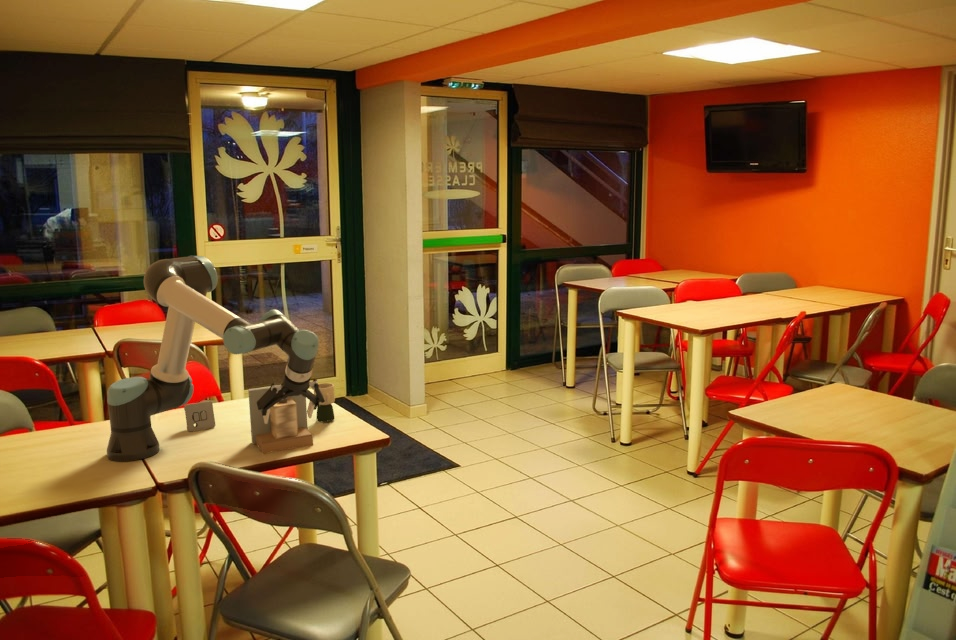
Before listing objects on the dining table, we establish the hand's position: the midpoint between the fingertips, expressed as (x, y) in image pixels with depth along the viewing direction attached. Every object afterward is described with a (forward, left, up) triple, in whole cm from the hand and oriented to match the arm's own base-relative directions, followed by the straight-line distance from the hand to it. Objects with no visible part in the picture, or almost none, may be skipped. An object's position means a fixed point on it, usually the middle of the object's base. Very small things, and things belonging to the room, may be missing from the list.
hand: (287, 417), depth 241 cm
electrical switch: (-21, +41, -12) cm, 48 cm away
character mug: (+20, +28, -12) cm, 36 cm away
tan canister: (+1, +11, -9) cm, 14 cm away
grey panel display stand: (+1, +10, -12) cm, 16 cm away
